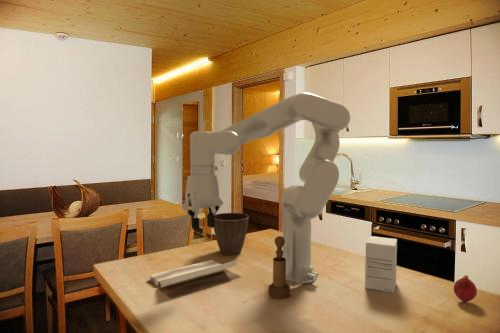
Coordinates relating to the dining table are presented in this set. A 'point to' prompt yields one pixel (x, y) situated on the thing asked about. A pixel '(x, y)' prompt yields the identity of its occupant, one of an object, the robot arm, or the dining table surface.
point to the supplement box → (381, 264)
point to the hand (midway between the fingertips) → (203, 227)
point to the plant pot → (230, 232)
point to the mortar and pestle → (279, 273)
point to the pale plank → (198, 273)
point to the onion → (465, 289)
